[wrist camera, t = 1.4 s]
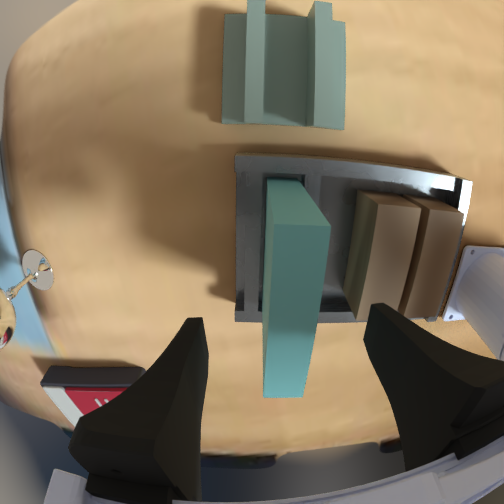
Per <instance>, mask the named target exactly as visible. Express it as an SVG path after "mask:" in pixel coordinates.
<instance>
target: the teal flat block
mask: <svg viewBox="0 0 504 504" xmlns="http://www.w3.org/2000/svg"><path fill="white" fill-rule="evenodd" d="M330 232H331V225H330V224H329V222H328V221H327V219H326V218H325V217H324V215H323V214H322V212H321V211H320V209H319V208H318V206H317V205H316V204H315V202H314V201H313V199H312V198H311V197H310V195H309V194H308V192H307V191H306V190H305V188H304V187H303V186H302V184H301V183H300V181H299V180H298V179H297V178H286V177H267V185H266V213H265V239H264V264H263V287H262V324H263V397H266V398H288V397H303V393H304V388H305V384H306V379H307V374H308V369H309V364H310V359H311V354H312V349H313V344H314V338H315V333H316V327H317V322H318V316H319V310H320V304H321V297H322V291H323V284H324V278H325V271H326V263H327V256H328V248H329V240H330Z"/></svg>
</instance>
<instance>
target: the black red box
mask: <svg viewBox="0 0 504 504" xmlns="http://www.w3.org/2000/svg"><path fill="white" fill-rule="evenodd" d="M145 372H146V370H145V369H144V368H142V367H97V368H72V367H69V366H50V367H49V369H48V371H47V372H46V374H45V375H44V377H43V379H42V380H41V382H40V384H41V386H42V387H43V389H44V391H45V392H46V393H47V394H48V396H49V397H50V398H51V399H52V401H53V402H54V403H55V404H56V406H57V407H58V408H59V409H60V410H61V412H62V413H63V414H64V415H65V416H66V417H67V419H68V420H69V421H70V422H71V423H72V424H73V425H74V426H76V424H77V422H78V420H79V418H80V417H81V416H83V415H85V414H87V413H89V412H91V411H93V410H95V409H97V408H99V407H101V406H102V405H104V404H106V403H107V402H109V401H110V400H112V399H114V398H115V397H116V396H118V395H119V394H121V393H122V392H123V391H125V390H126V389H127V388H128V387H130V386H131V385H132V384H133V383H134V382H136V381H137V380H138V379H139V378H140V377H141V376H142V375H143V374H144V373H145Z"/></svg>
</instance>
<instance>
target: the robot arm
mask: <svg viewBox="0 0 504 504" xmlns="http://www.w3.org/2000/svg"><path fill="white" fill-rule="evenodd" d="M471 251H472V252H471ZM442 319H443V320H444V321H453V320H462V319H466V320H467V321H468V323H469V324H470V325H471V326H472V328H473V329H474V330H475V331H476V332H477V334H478V335H479V336H480V337H481V339H482V340H483V341H484V343H485V344H486V345H487V346H488V348H489V349H490V350H491V352H492V353H493V354H494V356H495V357H496V358H497V360H496V359H491V358H488V357H484V356H480V355H477V354H474V353H471V352H468V351H466V350H463V349H461V348H458V347H456V346H454V345H452V344H450V343H448V342H446V341H443V340H442V339H440V338H438V337H436V336H434V335H433V334H431V333H429V332H428V331H426V330H424V329H423V328H421V327H420V326H418V325H417V324H415V323H414V322H412V321H411V320H409V319H408V318H406V317H405V316H403V315H402V314H400V313H399V312H397V311H396V310H394V309H393V308H391V307H390V306H388V305H387V304H385V303H375V304H371V306H370V311H369V316H368V321H367V325H366V330H365V334H364V339H363V340H364V343H365V347H366V350H367V353H368V356H369V359H370V361H371V363H372V365H373V367H374V369H375V371H376V373H377V375H378V377H379V379H380V382H381V384H382V386H383V388H384V390H385V392H386V394H387V396H388V399H389V401H390V404H391V407H392V410H393V413H394V417H395V420H396V424H397V428H398V431H399V435H400V440H401V445H402V450H403V455H404V462H405V469H406V472H405V473H402V474H398V475H396V476H392V477H389V478H386V479H383V480H379V481H376V482H372V483H368V484H365V485H361V486H357V487H353V488H349V489H344V490H339V491H335V492H329V493H324V494H319V495H312V496H306V497H298V498H290V499H282V500H271V501H256V502H202V495H201V467H200V440H201V419H202V411H203V404H204V398H205V391H206V385H207V378H208V359H209V353H208V347H207V341H206V336H205V330H204V324H203V318H202V317H196V318H187V319H186V320H185V322H184V324H183V325H182V327H181V328H180V330H179V331H178V333H177V334H176V336H175V337H174V338H173V340H172V341H171V342H170V344H169V345H168V347H167V348H166V349H165V351H164V352H163V353H162V354H161V355H160V357H159V358H158V359H157V360H156V361H155V362H154V364H153V365H152V366H151V367H150V368H149V369H148V370H147V371H146V372H145V373H144V374H143V375H142V376H141V377H140V378H139V379H138V380H137V381H136V382H134V383H133V384H132V385H131V386H130V387H128V388H127V389H126V390H125V391H123V392H122V393H121V394H119V395H118V396H116V397H115V398H114V399H112V400H110V401H109V402H107V403H106V404H104V405H102V406H101V407H99V408H97V409H95V410H93V411H91V412H89V413H87V414H85V415H83V416H81V417H80V418H79V420H78V422H77V424H76V426H75V429H74V432H73V435H72V438H71V440H70V444H69V446H68V449H69V452H70V453H71V455H72V456H73V457H74V459H76V461H77V462H78V463H80V465H82V466H83V467H84V468H85V469H86V470H87V471H88V472H89V476H88V480H87V479H85V478H83V477H81V476H78V475H75V474H71V473H68V472H65V471H62V470H58V469H54V471H53V474H52V477H51V481H50V484H49V487H48V490H47V494H46V497H45V501H44V504H472V503H474V502H475V501H477V500H479V499H480V498H482V497H483V496H485V495H486V494H488V493H489V492H491V491H492V490H494V489H495V488H497V487H498V486H500V485H501V484H502V483H504V248H501V247H486V246H469V245H468V246H466V247H465V248H464V250H463V253H462V257H461V260H460V264H459V267H458V271H457V274H456V277H455V280H454V284H453V287H452V290H451V293H450V296H449V299H448V301H447V304H446V307H445V310H444V312H443V315H442Z"/></svg>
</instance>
